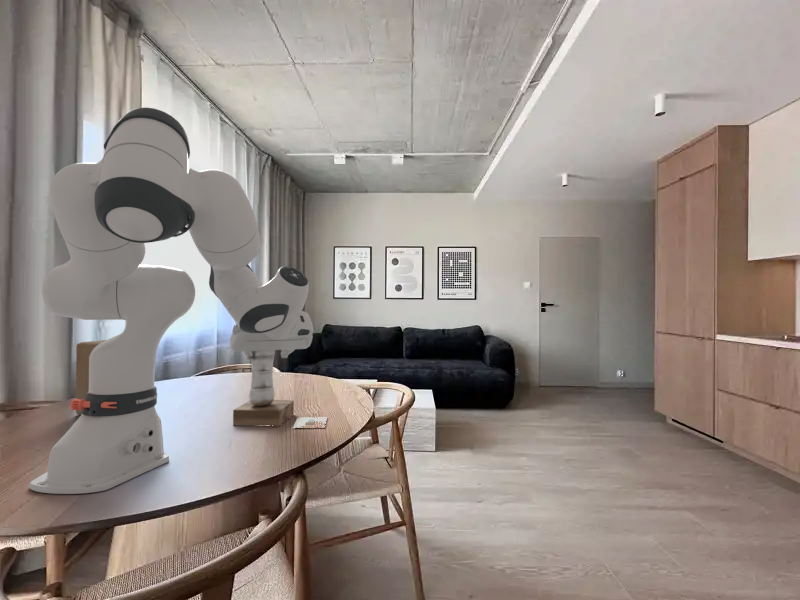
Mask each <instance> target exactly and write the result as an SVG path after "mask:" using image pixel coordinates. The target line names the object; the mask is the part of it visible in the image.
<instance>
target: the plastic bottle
mask: <svg viewBox="0 0 800 600" xmlns="http://www.w3.org/2000/svg"><path fill="white" fill-rule="evenodd" d="M275 353H276V350H264V351H252V354H253V357H252V359H250V362H251V383H250V389H249V394H248V398H249V401H250V403H251V404H252V405H255V406H265V405H269V404H271V403H272V402H273V400H275V389H274V381H273V380H274V379H273V373H274V372H273V367H274V361H275Z"/></svg>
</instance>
